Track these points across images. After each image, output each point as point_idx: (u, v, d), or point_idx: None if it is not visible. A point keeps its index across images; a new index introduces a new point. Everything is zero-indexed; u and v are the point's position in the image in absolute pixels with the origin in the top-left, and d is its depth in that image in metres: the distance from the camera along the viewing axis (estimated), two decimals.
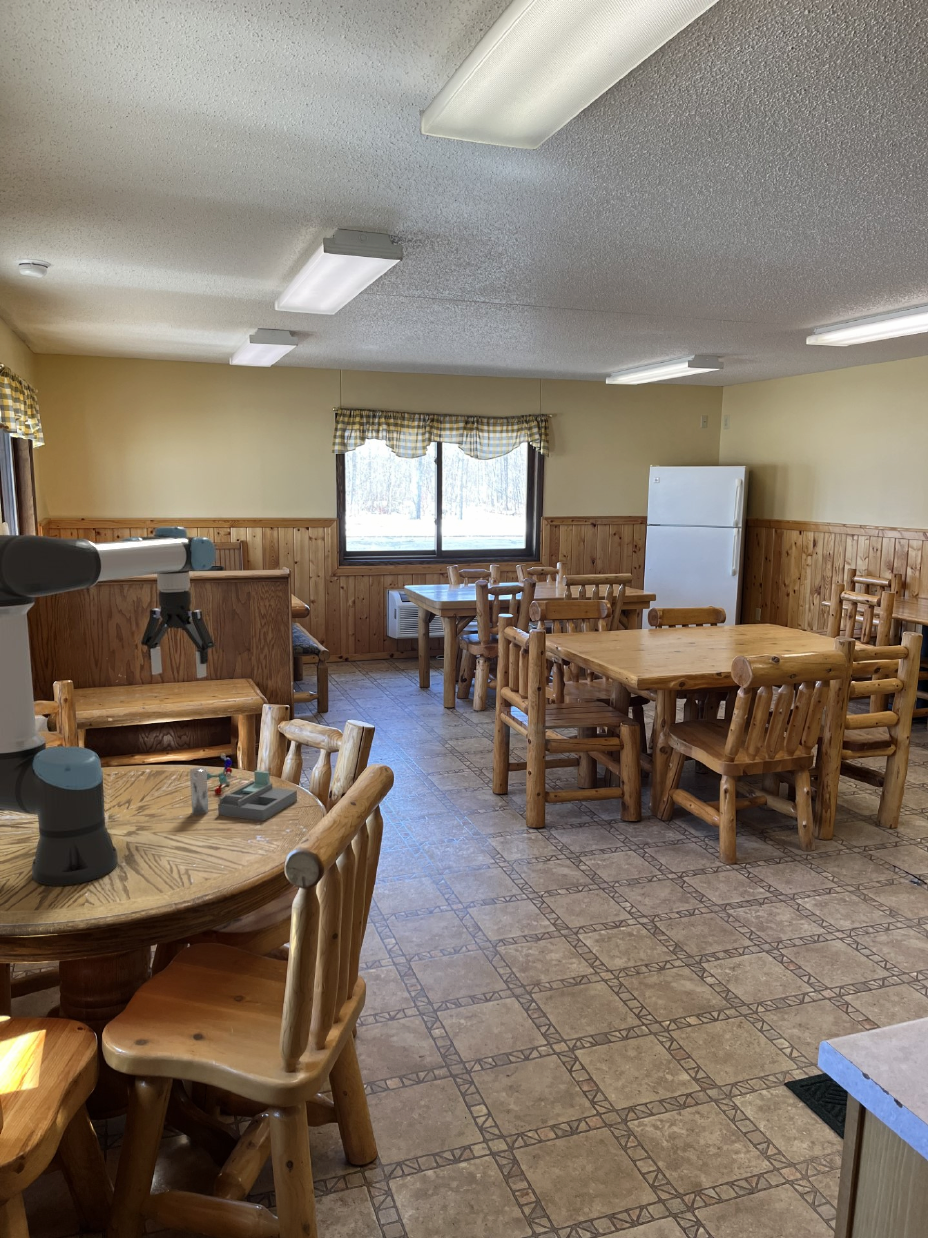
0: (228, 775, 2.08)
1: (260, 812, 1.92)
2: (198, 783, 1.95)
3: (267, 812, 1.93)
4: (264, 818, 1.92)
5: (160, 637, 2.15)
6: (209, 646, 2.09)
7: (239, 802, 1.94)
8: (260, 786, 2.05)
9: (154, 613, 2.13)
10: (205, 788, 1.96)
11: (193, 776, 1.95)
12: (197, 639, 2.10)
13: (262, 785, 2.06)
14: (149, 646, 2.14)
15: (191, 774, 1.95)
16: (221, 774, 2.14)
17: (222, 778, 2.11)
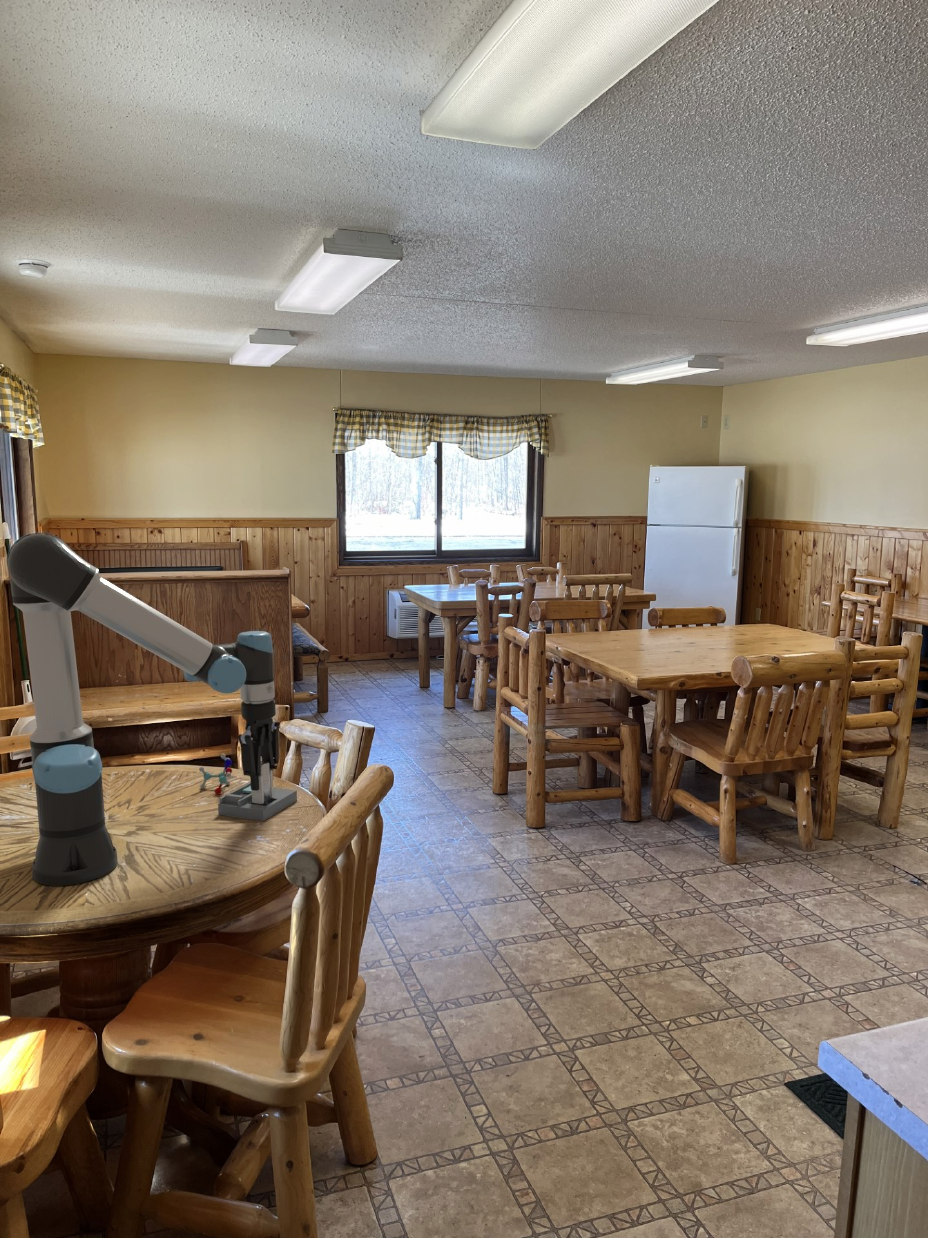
0: (228, 775, 2.08)
1: (260, 812, 1.92)
2: None
3: (267, 812, 1.93)
4: (264, 818, 1.92)
5: (266, 754, 1.98)
6: (245, 774, 1.92)
7: (239, 802, 1.94)
8: None
9: None
10: (268, 781, 1.96)
11: None
12: None
13: None
14: None
15: None
16: (221, 774, 2.14)
17: (222, 778, 2.11)
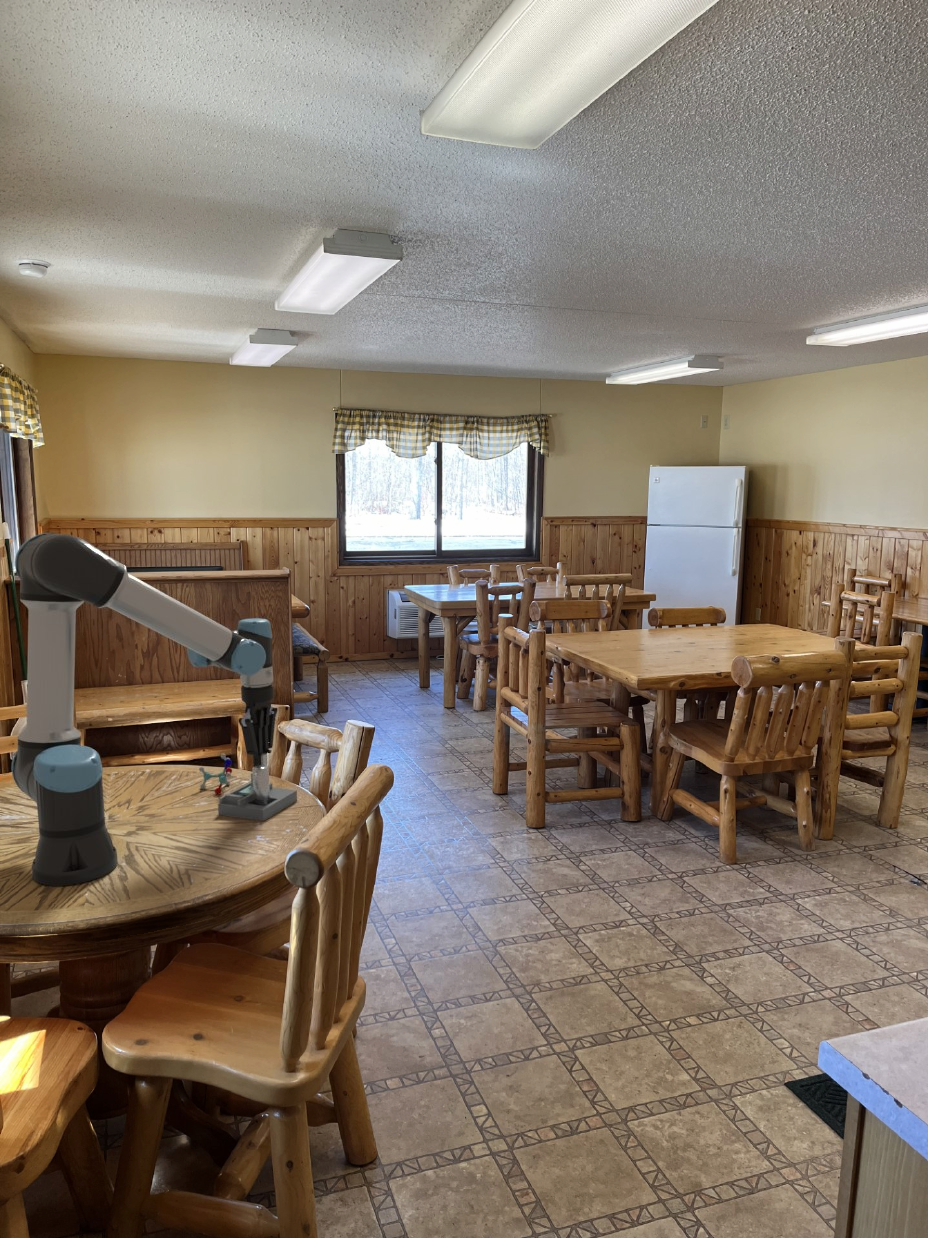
0: (228, 775, 2.08)
1: (260, 812, 1.92)
2: (261, 780, 1.95)
3: (267, 812, 1.93)
4: (264, 818, 1.92)
5: (261, 738, 2.06)
6: (248, 754, 2.03)
7: (239, 802, 1.94)
8: None
9: None
10: (267, 785, 1.96)
11: (256, 773, 1.95)
12: None
13: None
14: None
15: (254, 771, 1.95)
16: (221, 774, 2.14)
17: (222, 778, 2.11)
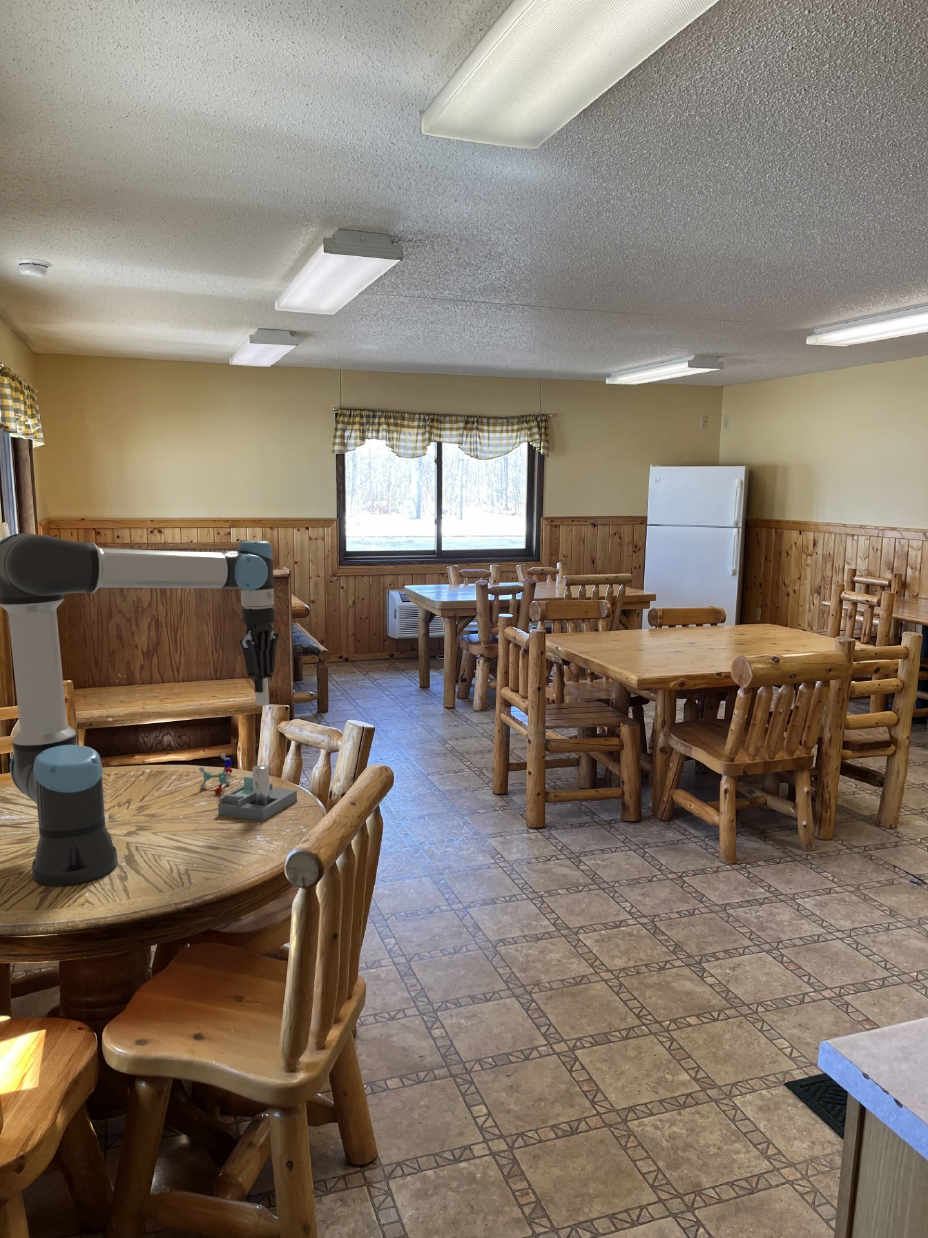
0: (228, 775, 2.08)
1: (260, 812, 1.92)
2: (261, 780, 1.95)
3: (267, 812, 1.93)
4: (264, 818, 1.92)
5: (263, 661, 2.05)
6: (249, 676, 2.02)
7: (239, 802, 1.94)
8: (249, 792, 2.01)
9: None
10: (267, 785, 1.96)
11: (256, 773, 1.95)
12: None
13: (251, 791, 2.02)
14: None
15: (254, 771, 1.95)
16: (221, 774, 2.14)
17: (222, 778, 2.11)
